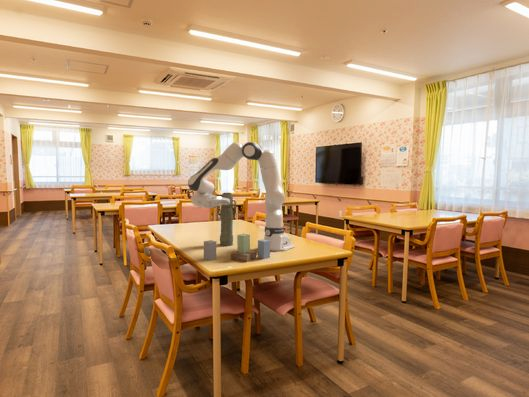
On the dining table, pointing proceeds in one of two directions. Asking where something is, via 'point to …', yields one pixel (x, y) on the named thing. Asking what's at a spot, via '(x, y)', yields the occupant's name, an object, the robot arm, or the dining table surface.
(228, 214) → the thermos
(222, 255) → the dining table surface
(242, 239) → the green block
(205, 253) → the grey block
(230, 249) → the dining table surface
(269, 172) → the robot arm
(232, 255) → the walnut brick
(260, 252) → the blue block
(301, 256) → the dining table surface
